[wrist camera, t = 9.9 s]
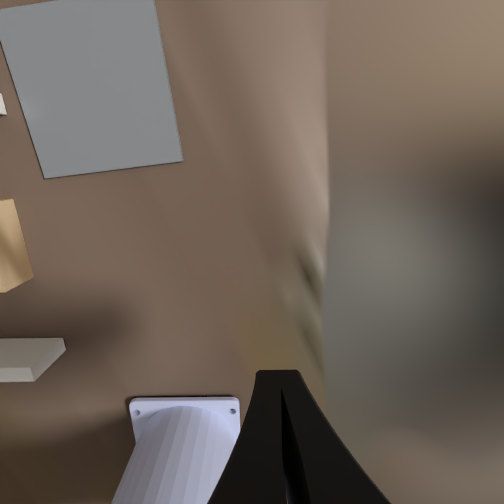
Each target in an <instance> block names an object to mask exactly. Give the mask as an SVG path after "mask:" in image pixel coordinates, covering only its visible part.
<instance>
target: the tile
mask: <svg viewBox="0 0 504 504" xmlns="http://www.w3.org/2000/svg"><path fill="white" fill-rule="evenodd" d="M33 277H34V276H33V273H32V269H31V265H30V261H29V257H28V254H27V250H26V246H25V242H24V239H23V235H22V231H21V227H20V223H19V220H18V216H17V212H16V208H15V205H14V201H13V199H0V292H7V291H9V290H11V289H12V288H14V287H16V286H18V285H20V284H22V283H24V282H26V281H28V280H30V279H32V278H33Z"/></svg>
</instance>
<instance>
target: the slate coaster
mask: <svg viewBox="0 0 504 504" xmlns="http://www.w3.org/2000/svg"><path fill="white" fill-rule="evenodd" d="M0 41H1V44H2V47H3V50H4V53H5V56H6V60H7V63H8V66H9V69H10V72H11V75H12V78H13V81H14V84H15V88H16V91H17V94H18V97H19V100H20V103H21V106H22V109H23V112H24V115H25V119H26V122H27V125H28V128H29V131H30V134H31V137H32V140H33V143H34V147H35V150H36V153H37V156H38V159H39V162H40V165H41V168H42V171H43V174H44V178H54V177H62V176H70V175H78V174H86V173H94V172H102V171H110V170H117V169H125V168H133V167H141V166H149V165H157V164H165V163H173V162H181V161H184V160H183V154H182V149H181V143H180V138H179V132H178V127H177V121H176V116H175V110H174V105H173V99H172V94H171V88H170V83H169V77H168V72H167V66H166V61H165V55H164V50H163V44H162V39H161V33H160V28H159V22H158V17H157V11H156V6H155V0H57V1H51V2H44V3H38V4H31V5H25V6H18V7H12V8H5V9H0Z"/></svg>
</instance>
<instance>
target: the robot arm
mask: <svg viewBox="0 0 504 504" xmlns="http://www.w3.org/2000/svg"><path fill="white" fill-rule="evenodd" d="M129 409H130V414H131V420H132V425H133V431H134V436H135V441H136V445H135V447H134V450H133V452H132V455H131V457H130V459H129V462H128V464H127V467H126V469H125V471H124V474H123V476H122V479H121V481H120V483H119V486H118V488H117V490H116V493H115V495H114V498H113V500H112V502H111V504H287V500H288V504H391V503H390V502H389V501H388V499H387V498H386V497H385V496H384V495H383V493H382V492H381V491H380V490H379V489H378V487H377V486H376V485H375V484H374V483H373V481H372V480H371V479H370V478H369V477H368V475H367V474H366V473H365V472H364V470H363V469H362V468H361V466H360V465H359V464H358V462H357V461H356V460H355V459H354V457H353V456H352V454H351V453H350V452H349V450H348V449H347V448H346V446H345V445H344V444H343V442H342V441H341V439H340V438H339V437H338V435H337V434H336V432H335V431H334V429H333V428H332V426H331V425H330V423H329V422H328V420H327V419H326V417H325V416H324V414H323V413H322V411H321V409H320V408H319V406H318V405H317V403H316V401H315V400H314V398H313V396H312V394H311V393H310V391H309V389H308V387H307V385H306V384H305V382H304V380H303V378H302V376H301V373H300V372H299V371H298V370H259V371H258V372H257V373H256V379H255V385H254V390H253V394H252V397H251V401H250V405H249V408H248V411H247V413H246V416H245V419H244V422H243V425H242V428H241V431H240V410H239V400H238V399H237V398H235V397H176V398H134V399H132V400H131V402H130V404H129ZM231 409H235V410H231ZM137 410H139V411H137ZM285 488H286V489H285ZM286 494H287V498H286Z"/></svg>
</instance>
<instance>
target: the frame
mask: <svg viewBox="0 0 504 504" xmlns="http://www.w3.org/2000/svg"><path fill="white" fill-rule="evenodd" d="M0 115H7V113H6V110H5V106H4V102H3V98H2V94H0ZM65 351H66V348H65V344H64V340H63V338H6V339H0V382H34V381H35V380H36V379H37V378H38V377H39V376H40V375H41V374H42V373H43V372H44V371H45V370H46V369H47V368H48V367H49V366H50V365H51V364H52V363H53V362H54V361H55V360H56V359H58V358H59V357H60V356H61V355H62V354H63V353H64V352H65Z"/></svg>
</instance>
